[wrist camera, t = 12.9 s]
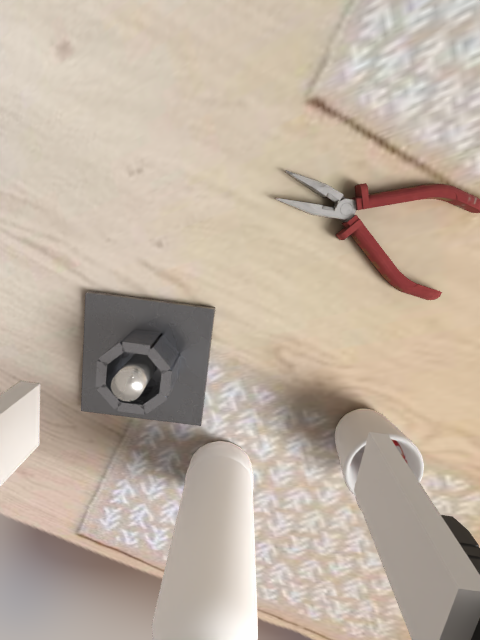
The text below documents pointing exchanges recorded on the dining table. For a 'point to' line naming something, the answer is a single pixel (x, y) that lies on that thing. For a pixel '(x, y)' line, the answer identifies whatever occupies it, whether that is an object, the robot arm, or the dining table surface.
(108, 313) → the piston jig
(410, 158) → the dining table surface
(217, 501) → the bottle
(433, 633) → the robot arm
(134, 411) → the ring
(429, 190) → the pliers
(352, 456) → the cup
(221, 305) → the dining table surface
